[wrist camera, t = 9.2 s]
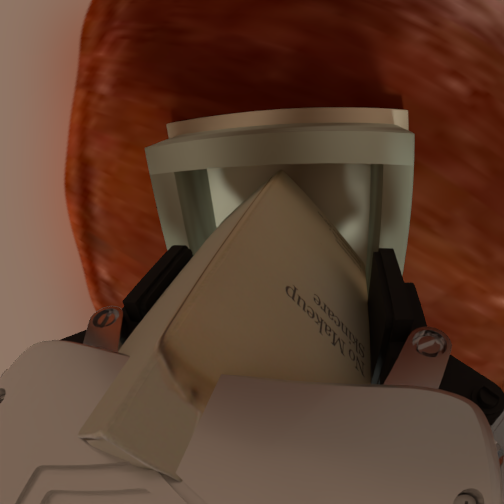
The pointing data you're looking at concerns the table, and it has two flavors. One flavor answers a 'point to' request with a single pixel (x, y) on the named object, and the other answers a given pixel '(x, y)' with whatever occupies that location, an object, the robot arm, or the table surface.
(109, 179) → the table surface
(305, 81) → the table surface
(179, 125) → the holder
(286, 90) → the table surface
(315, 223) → the skincare box
